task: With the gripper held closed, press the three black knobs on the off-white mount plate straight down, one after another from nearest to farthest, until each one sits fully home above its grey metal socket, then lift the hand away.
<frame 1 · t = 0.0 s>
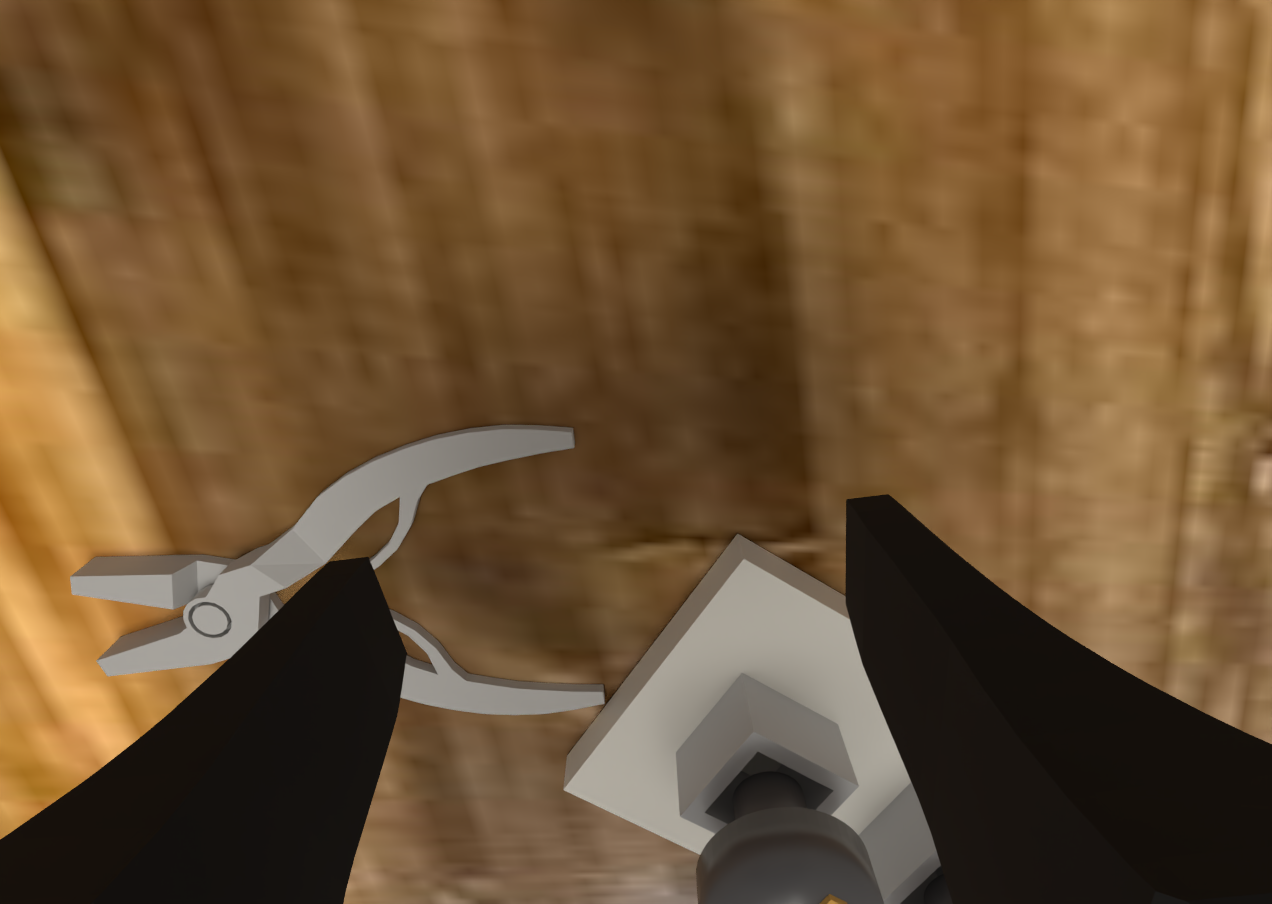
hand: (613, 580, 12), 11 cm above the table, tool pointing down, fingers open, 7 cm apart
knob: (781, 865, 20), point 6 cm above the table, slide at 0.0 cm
knob mount: (914, 793, 27), on the table
pliers: (353, 579, 25), on the table
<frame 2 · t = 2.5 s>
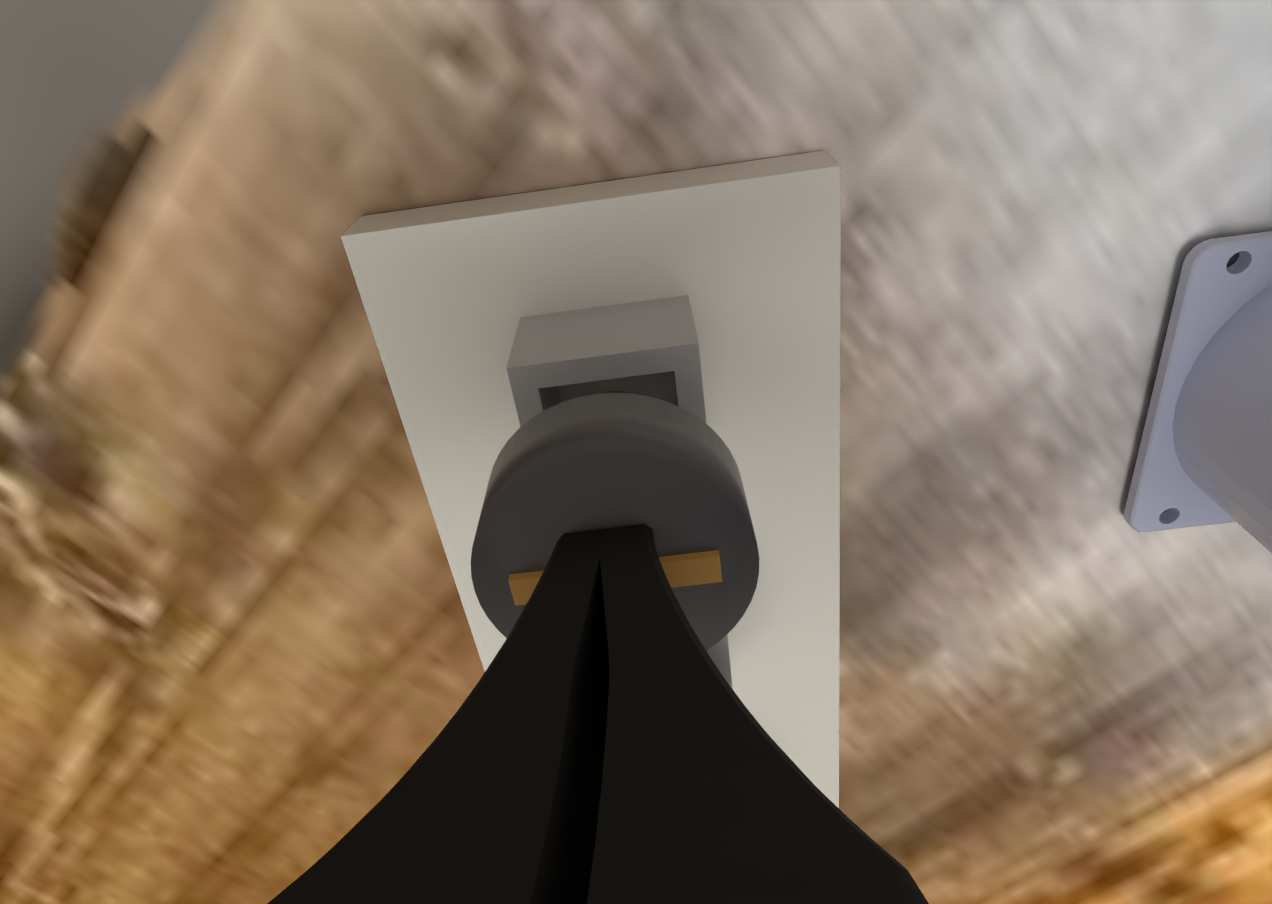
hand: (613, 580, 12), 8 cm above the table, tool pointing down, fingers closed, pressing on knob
knob mount: (651, 575, 23), on the table
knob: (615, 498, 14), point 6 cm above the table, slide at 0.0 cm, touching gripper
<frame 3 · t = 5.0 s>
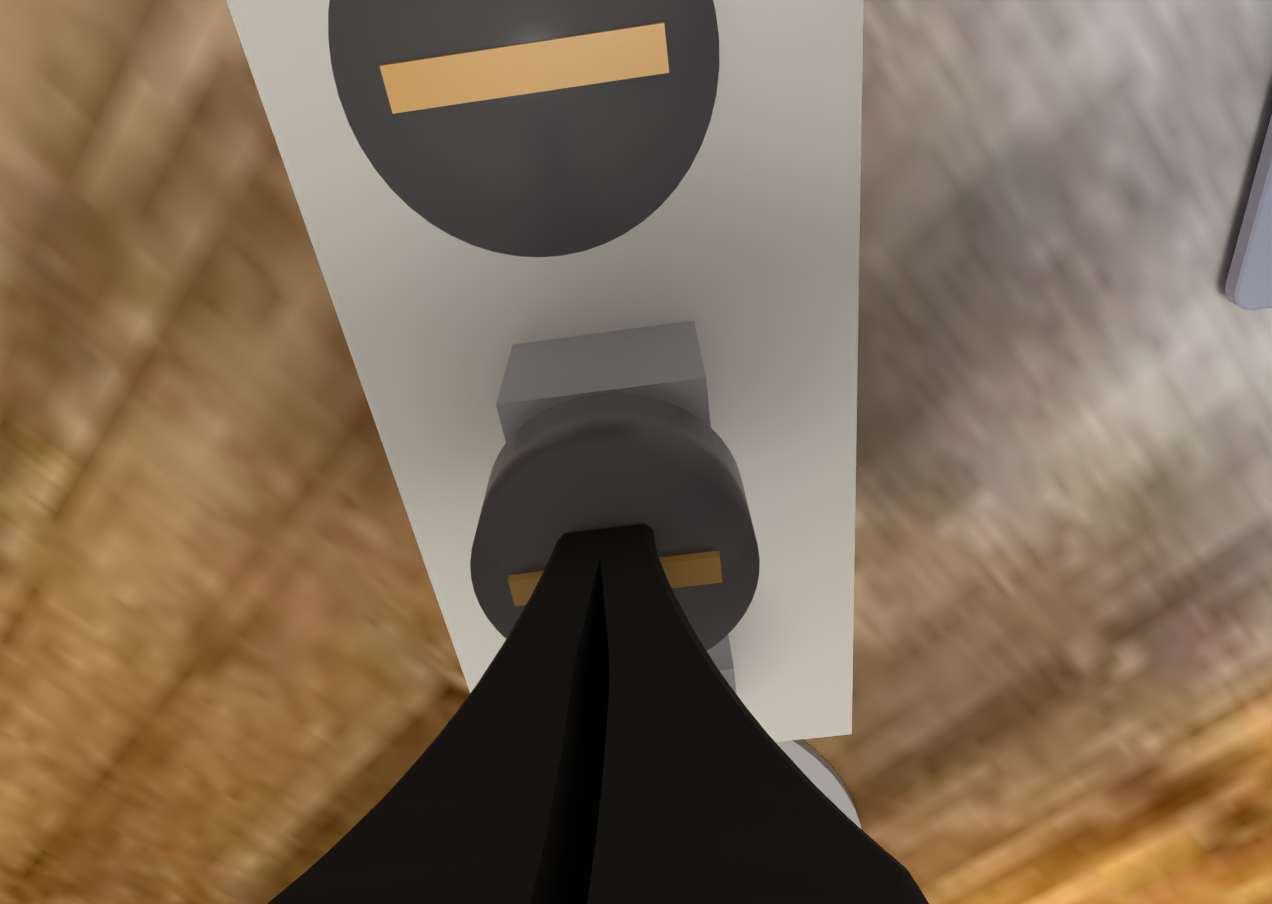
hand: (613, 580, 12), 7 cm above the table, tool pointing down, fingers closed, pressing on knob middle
knob middle: (615, 499, 14), point 5 cm above the table, slide at 1.4 cm, touching gripper
knob mount: (615, 380, 18), on the table
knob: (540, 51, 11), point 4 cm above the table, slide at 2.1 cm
pliers: (781, 858, 29), on the table
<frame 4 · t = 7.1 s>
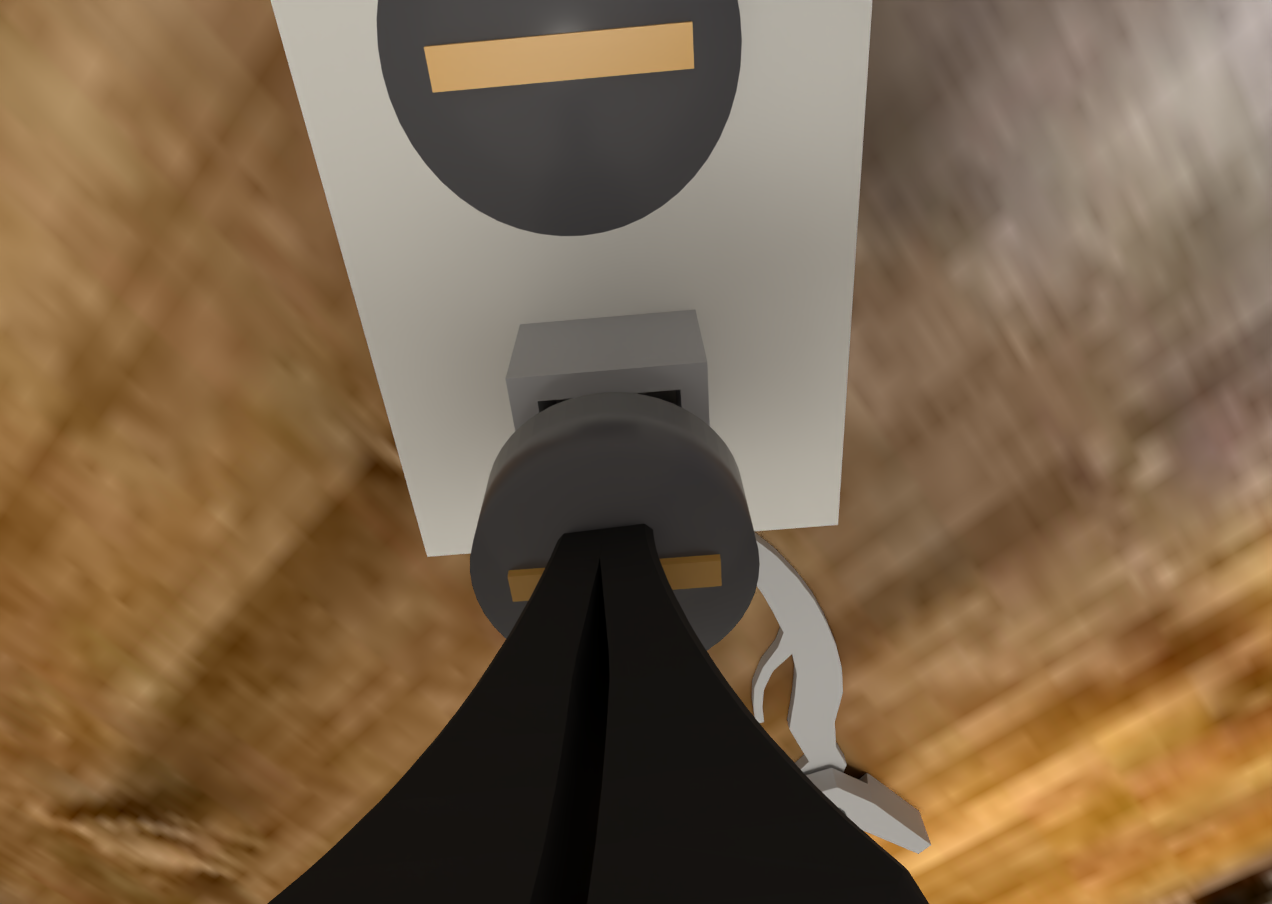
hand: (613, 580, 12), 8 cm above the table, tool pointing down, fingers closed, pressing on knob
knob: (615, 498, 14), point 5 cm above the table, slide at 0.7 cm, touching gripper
knob middle: (569, 42, 11), point 4 cm above the table, slide at 2.1 cm
knob mount: (580, 24, 15), on the table
pliers: (750, 717, 26), on the table
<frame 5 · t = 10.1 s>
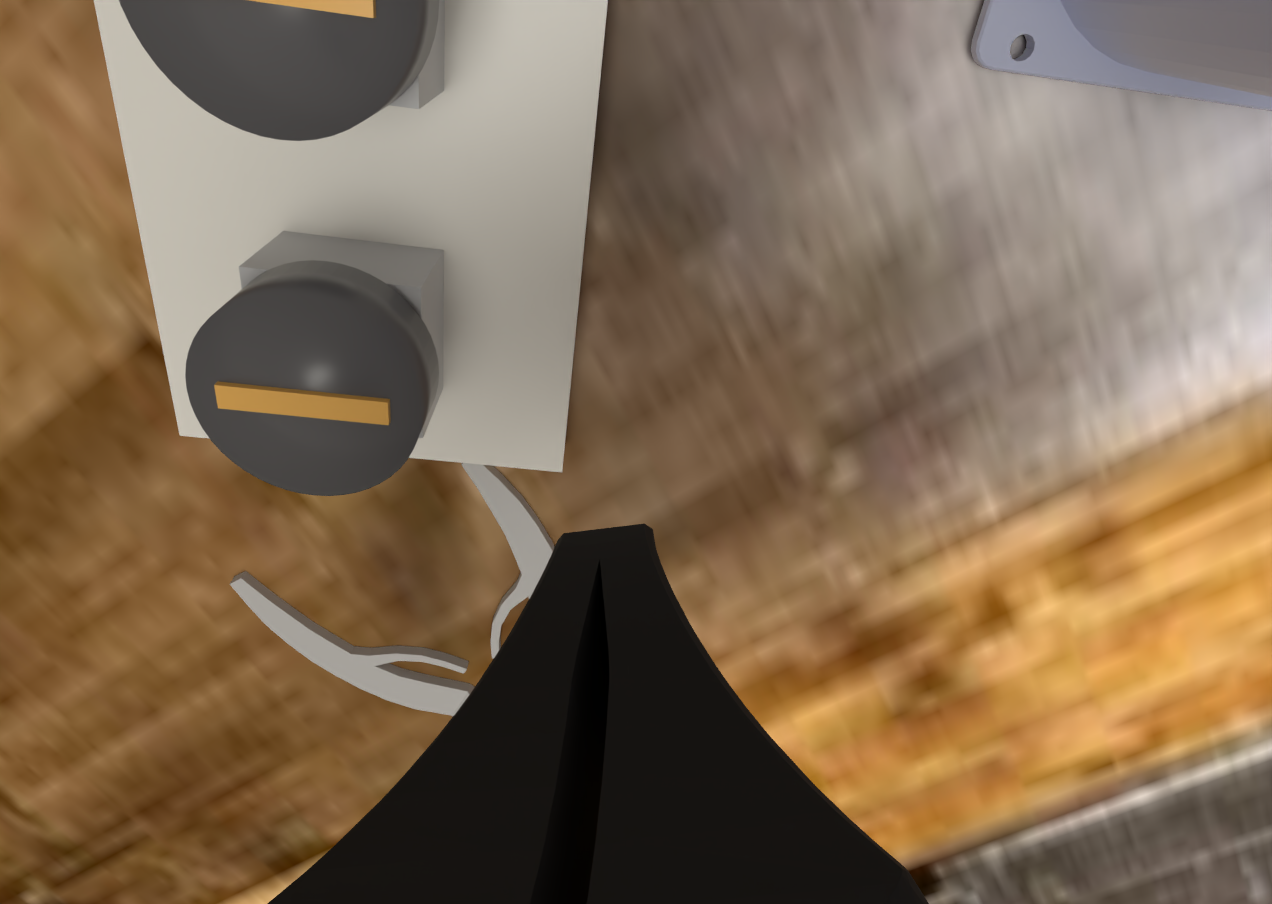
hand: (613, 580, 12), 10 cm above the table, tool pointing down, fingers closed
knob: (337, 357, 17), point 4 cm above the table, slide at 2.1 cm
pliers: (493, 655, 28), on the table
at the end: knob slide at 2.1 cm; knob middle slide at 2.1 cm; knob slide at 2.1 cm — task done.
